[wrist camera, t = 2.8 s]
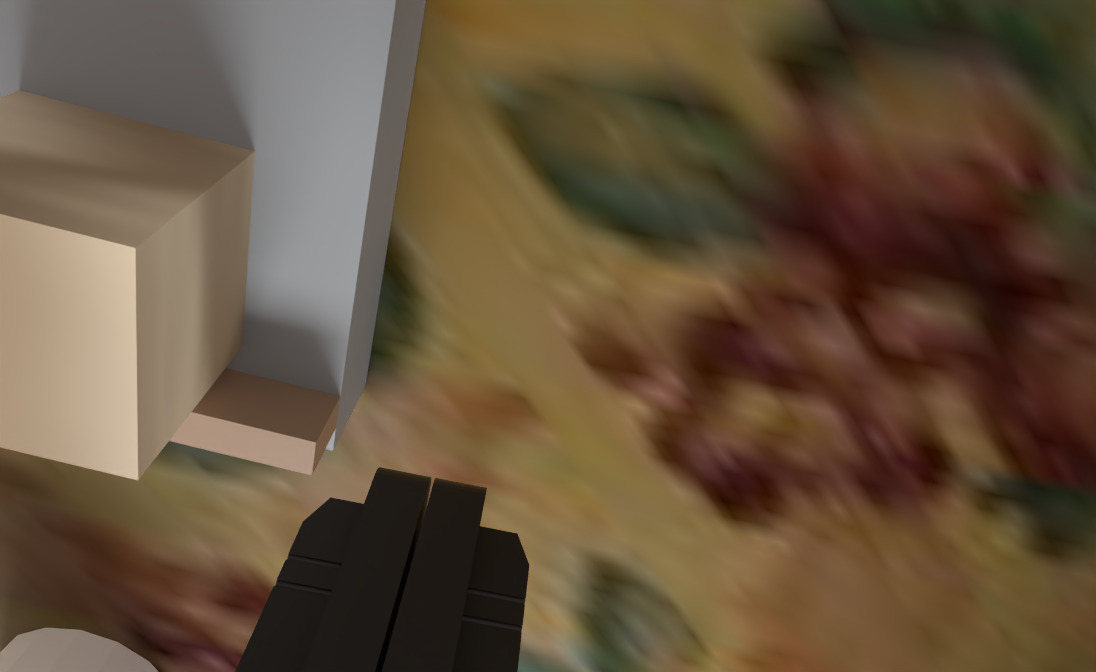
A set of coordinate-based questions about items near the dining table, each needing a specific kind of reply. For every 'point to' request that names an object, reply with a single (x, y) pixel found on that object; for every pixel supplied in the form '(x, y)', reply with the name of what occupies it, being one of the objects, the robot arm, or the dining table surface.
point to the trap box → (260, 175)
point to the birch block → (114, 280)
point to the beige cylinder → (69, 653)
